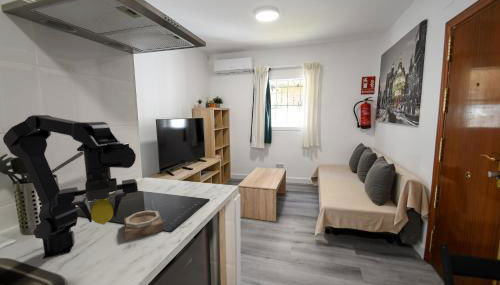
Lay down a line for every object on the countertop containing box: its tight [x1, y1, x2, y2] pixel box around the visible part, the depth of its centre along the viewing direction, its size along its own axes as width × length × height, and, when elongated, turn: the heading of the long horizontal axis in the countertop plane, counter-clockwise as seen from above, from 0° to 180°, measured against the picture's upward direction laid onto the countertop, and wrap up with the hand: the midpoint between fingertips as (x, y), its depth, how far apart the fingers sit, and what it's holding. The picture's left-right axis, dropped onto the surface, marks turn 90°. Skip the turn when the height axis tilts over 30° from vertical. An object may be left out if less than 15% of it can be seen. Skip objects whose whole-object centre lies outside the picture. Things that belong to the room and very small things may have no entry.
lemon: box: [90, 198, 114, 226], centre depth 63 cm, size 6×6×8 cm
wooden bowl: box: [123, 210, 164, 241], centre depth 81 cm, size 12×12×4 cm
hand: (103, 219), depth 63 cm, fingers closed on lemon, 5 cm apart
